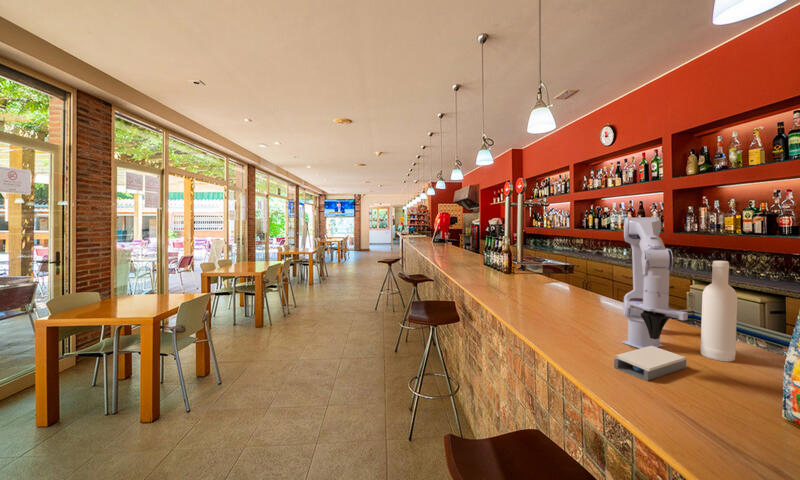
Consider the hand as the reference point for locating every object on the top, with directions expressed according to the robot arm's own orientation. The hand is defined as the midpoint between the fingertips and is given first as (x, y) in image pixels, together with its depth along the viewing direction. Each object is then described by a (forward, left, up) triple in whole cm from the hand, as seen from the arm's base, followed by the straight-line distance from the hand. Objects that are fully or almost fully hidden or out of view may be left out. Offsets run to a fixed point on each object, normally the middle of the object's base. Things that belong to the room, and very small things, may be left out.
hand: (654, 338), depth 94 cm
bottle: (-27, +3, -9) cm, 29 cm away
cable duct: (0, -1, -9) cm, 9 cm away
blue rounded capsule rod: (0, -1, -9) cm, 9 cm away
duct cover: (0, -1, -6) cm, 7 cm away
